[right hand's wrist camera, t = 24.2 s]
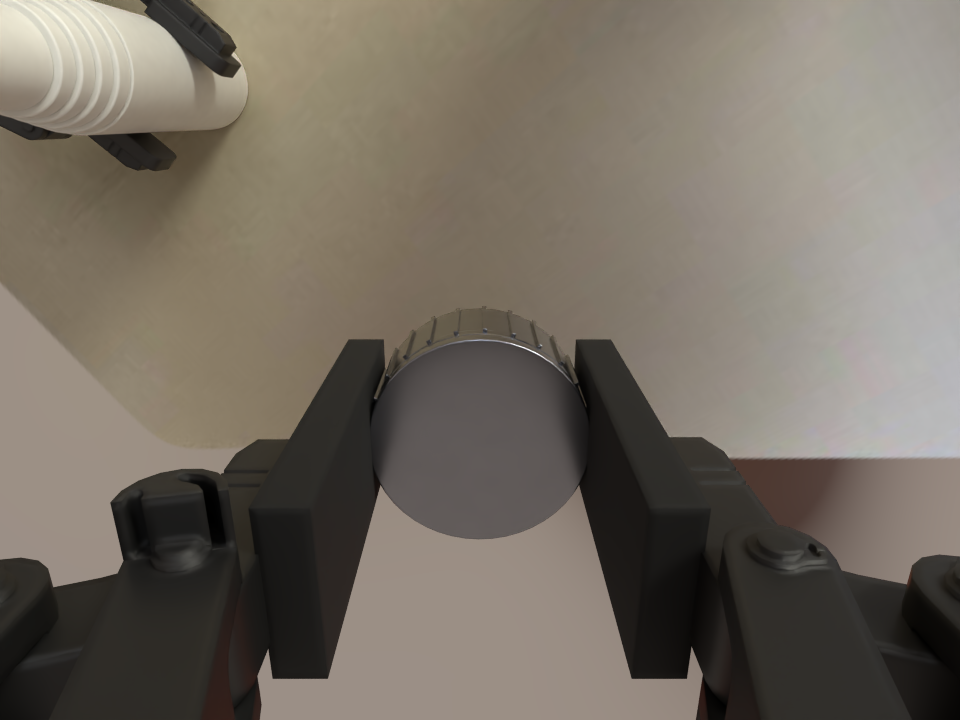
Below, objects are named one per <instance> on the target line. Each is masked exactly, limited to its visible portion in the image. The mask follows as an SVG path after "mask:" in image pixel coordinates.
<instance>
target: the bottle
mask: <svg viewBox="0 0 960 720" xmlns="http://www.w3.org/2000/svg"><path fill="white" fill-rule="evenodd" d="M232 56H233V57H234V58H235V59H236V60H237V61H238V62H239V63H240V64H241V67H240V68H239V70H238V71H237V73H236V74H235V76H234V77H233V78H228V77H222V76H220V75H218V74H216V73H215V72H213V71H212V70H211V69H210V68H208V67H207V66H206V65H205V64H204V63H203V62H201V61H200V60H199V59H198V58H197V57H196V56H195V55H193V54H192V53H191V52H190V51H189V50H188V49H186V48H185V47H184V46H183V45H182V44H181V43H180V42H178V41H177V40H176V39H175V38H174V37H173V36H172V35H170V34H169V33H168V32H167V31H166V30H165V29H164V28H163V27H162V26H160V25H159V24H158V23H157V22H155V21H154V20H153V19H152V18H149V17H145V16H142V15H139V14H135V13H132V12H129V11H125V10H122V9H119V8H115V7H112V6H109V5H105V4H102V3H99V2H95V1H92V0H0V115H2V116H6V117H10V118H13V119H16V120H18V121H22V122H25V123H29V124H31V125H34V126H37V127H41V128H44V129H47V130H50V131H53V132H58V133H67V134H72V135H104V134H126V133H148V132H171V131H193V130H213V129H219V128H223V127H225V126H227V125H229V124H231V123H232V122H234V121H235V120H236V119H237V118H238V117H239V115H240V114H241V112H242V111H243V109H244V107H245V104H246V101H247V96H248V81H247V76H246V72H245V70H244V67H243V65H242V63H241V61H240V59H239V58H238V56H237V55H236V54H235V53H234V52H233V54H232Z"/></svg>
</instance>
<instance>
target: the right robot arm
mask: <svg viewBox="0 0 960 720" xmlns="http://www.w3.org/2000/svg"><path fill="white" fill-rule="evenodd" d="M384 369H385V357H384V340H348V342H347V343H346V345H345V347H344V348H343V350H342V352H341V353H340V355H339V357H338V359H337V360H336V362H335V364H334V365H333V367H332V369H331V370H330V372H329V374H328V375H327V377H326V379H325V380H324V382H323V384H322V385H321V387H320V389H319V390H318V392H317V394H316V395H315V397H314V399H313V401H312V402H311V404H310V406H309V407H308V409H307V411H306V412H305V414H304V416H303V417H302V419H301V421H300V422H299V424H298V426H297V427H296V429H295V431H294V432H293V434H292V436H291V437H290V439H286V440H257V441H255V442H253V443H252V444H250V445H249V446H247V447H246V448H244V449H243V450H241V451H239V452H238V453H236V454H235V456H234V457H233V459H232V460H231V461H230V463H229V464H228V465H227V467H226V468H225V470H224V473H222V474H221V475H220V474H219V473H217V472H213V471H209V470H204V469H180V470H174V471H169V472H163V473H159V474H156V475H153V476H150V477H148V478H145V479H142V480H139V481H137V482H136V483H134V484H132V485H131V486H129V487H127V488H125V489H124V490H122V491H121V492H120V493H119V494H118V495H117V496H116V497H115V498H114V499H113V500H112V501H111V507H112V512H113V516H114V521H115V525H116V529H117V534H118V538H119V542H120V547H121V551H122V556H123V560H124V561H123V563H122V565H121V567H120V569H119V572H118V574H114V575H110V576H106V577H103V578H98V579H93V580H88V581H83V582H78V583H73V584H68V585H63V586H58V587H53V585H52V581H51V578H50V574H49V571H48V568H47V567H46V566H44V565H43V564H42V563H41V562H39V561H37V560H32V559H26V558H13V559H3V560H0V720H260V712H261V698H260V691H259V684H258V678H257V675H258V673H259V670H260V668H261V665H262V663H263V660H264V658H265V655H266V653H267V650H268V649H269V656H270V663H271V670H272V677H273V679H328V676H329V672H330V669H331V665H332V661H333V658H334V654H335V650H336V647H337V643H338V639H339V636H340V632H341V628H342V624H343V621H344V617H345V613H346V610H347V606H348V602H349V599H350V595H351V591H352V588H353V584H354V580H355V577H356V573H357V569H358V566H359V562H360V558H361V554H362V551H363V547H364V543H365V540H366V536H367V532H368V529H369V525H370V521H371V518H372V514H373V510H374V507H375V503H376V499H377V496H378V492H379V488H380V483H379V481H378V479H377V477H376V474H375V472H374V470H373V465H372V451H371V436H370V418H371V414H372V411H373V408H374V405H375V402H374V401H373V399H374V396H375V393H376V390H377V388H378V385H379V382H380V380H381V377H382V374H383V372H384ZM574 370H575V373H576V375H577V378H578V381H579V383H580V386H579V387H580V390H581V393H582V395H583V398H584V401H585V403H586V406H587V412H588V415H589V419H590V426H589V442H588V458H587V469H586V472H585V474H584V476H583V478H582V480H581V482H580V484H579V486H580V490H581V493H582V497H583V501H584V504H585V508H586V512H587V516H588V519H589V523H590V527H591V530H592V534H593V537H594V541H595V545H596V549H597V552H598V556H599V560H600V563H601V567H602V571H603V574H604V578H605V582H606V586H607V589H608V593H609V596H610V600H611V604H612V608H613V611H614V615H615V619H616V622H617V626H618V630H619V633H620V637H621V641H622V645H623V648H624V652H625V656H626V659H627V663H628V667H629V670H630V674H631V678H632V679H687V674H688V667H689V660H690V653H691V646H692V648H693V651H694V653H695V656H696V658H697V661H698V663H699V666H700V668H701V671H702V673H703V678H702V684H701V691H700V697H699V704H698V710H697V717H696V720H960V557H958V556H948V555H934V556H929V557H923V558H921V559H920V560H918V561H917V562H916V563H915V564H914V565H912V568H911V572H910V576H909V579H908V583H907V584H901V583H896V582H891V581H887V580H881V579H876V578H871V577H866V576H861V575H857V574H853V573H849V572H845V571H842V570H841V568H840V566H839V564H838V562H837V560H836V559H835V557H834V556H833V555H832V554H831V552H830V551H829V550H828V548H827V547H826V546H824V545H823V544H821V543H820V542H818V541H817V540H815V539H814V538H812V537H811V536H809V535H807V534H805V533H802V532H800V531H797V530H795V529H793V528H790V527H786V526H781V525H777V523H776V522H775V520H774V519H773V518H772V516H771V515H770V514H769V512H768V511H767V510H766V508H765V507H764V505H763V504H762V503H761V501H760V500H759V499H758V497H757V496H756V495H755V493H754V492H753V491H752V489H751V488H750V486H749V485H746V481H745V480H744V478H743V477H742V476H741V474H740V473H739V472H738V471H736V467H735V466H734V465H733V463H732V462H731V461H730V459H729V458H728V457H727V455H726V454H725V452H724V451H722V450H721V449H719V448H718V447H716V446H714V445H713V444H711V443H710V442H708V441H707V440H705V439H703V438H702V437H668V435H667V433H666V432H665V430H664V428H663V427H662V425H661V423H660V421H659V420H658V418H657V416H656V415H655V413H654V411H653V410H652V408H651V406H650V405H649V403H648V401H647V400H646V398H645V396H644V395H643V393H642V391H641V390H640V388H639V386H638V385H637V383H636V381H635V379H634V378H633V376H632V374H631V373H630V371H629V369H628V368H627V366H626V364H625V363H624V361H623V359H622V358H621V356H620V354H619V353H618V351H617V349H616V348H615V346H614V344H613V342H612V341H611V340H576V348H575V367H574Z"/></svg>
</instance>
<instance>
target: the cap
mask: <svg viewBox="0 0 960 720" xmlns="http://www.w3.org/2000/svg"><path fill="white" fill-rule="evenodd" d="M579 386H580V383H579V381H578V378H577V375H576V373H575V370H574V368H573V365H572V363H571V360H570V357H569V356H568V355H566V356H565V354H564V353H563V351H562V350H561V348H560V347H559V346H558V344H557V341H556V339H555V337H554V336H553V335H552V336H551V337H550V336H549V335H548V334H547V333H546V332H545V331H543V330H542V329H541V328H539V327H538V326H537V325H536V322H535V321H533V320H532V322H530V321H528V320H526V319H524V318H522V317H520V316H517V315H514V314H512V311H510V310H508V312H504V311H499V310H494V309H486V306H482V309H466V310H460V308H458V309H456V311H455V312H451V313H448V314H445V315H442V316H440V317H438V318H436V317H435V316H434V317H432V318H431V321H429V322H428V323H426V324H425V325H423V326H421V327H420V328H418V329H417V330H416V331H414V330H412V331H411V332H410V334H409V337H408V338H407V339H406V340H405V341H404V343H403V344H402V345H401V346H400V347H399V349H397V348H395V350H394V352H393V355H392V357H391V360H390V363H389V366H388V368H387V369H384V372H383V374H382V377H381V380H380V382H379V385H378V388H377V390H376V393H375V396H374V399H373V401H374V402H375V405H374V408H373V411H372V414H371V418H370V436H371V451H372V465H373V470H374V472H375V474H376V477H377V479H378V481H379V483H380V485H381V486H382V488H383V489H384V491H385V493H386V494H387V495H388V496H389V498H390V499H391V500H392V501H393V503H394V504H395V505H396V506H397V507H398V508H400V509H401V510H402V511H403V512H404V513H405V514H407V515H408V516H409V517H411V518H412V519H413V520H415V521H417V522H418V523H420V524H422V525H424V526H425V527H428V528H430V529H432V530H435V531H437V532H440V533H443V534H447V535H450V536H455V537H460V538H468V539H493V538H499V537H505V536H509V535H513V534H516V533H520V532H522V531H525V530H527V529H530V528H532V527H534V526H536V525H537V524H539V523H541V522H543V521H545V520H546V519H547V518H549V517H550V516H552V515H553V514H554V513H556V512H557V511H558V510H559V509H560V508H561V507H562V506H563V505H564V504H565V503H566V502H567V501H568V500H569V498H570V497H571V496H572V495H573V493H574V492H575V490H576V489H577V487H578V486H579V484H580V482H581V480H582V478H583V476H584V474H585V472H586V469H587V458H588V442H589V426H590V419H589V415H588V412H587V406H586V403H585V401H584V398H583V395H582V393H581V390H580V387H579Z"/></svg>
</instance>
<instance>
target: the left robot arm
mask: <svg viewBox="0 0 960 720" xmlns="http://www.w3.org/2000/svg"><path fill="white" fill-rule="evenodd" d="M141 1H142V2H143V3H144V4H145V5H146V6H147V9H146V10H145V13H146V14H147V15H148V16H150V17H151V18H152V19H153V20H154V21H155V22H157V23H158V24H159V25H160V26H162V27H163V28H164V29H165V30H166V31H167V32H168V33H169V34H170V35H172V36H173V37H174V38H175V39H176V40H177V41H178V42H180V43H181V44H182V45H183V46H184V47H185V48H186V49H188V50H189V51H190V52H191V53H192V54H193V55H195V56H196V57H197V58H198V59H199V60H200V61H201V62H203V63H204V64H205V65H206V66H207V67H208V68H210V69H211V70H212V71H213V72H215V73H216V74H218V75H220V76H222V77H228V78H233V77H234V76H235V74H236V73H237V71H238V70H239V68H240V67H241V64H240V63H239V62H238V61H237V60H236V59H235V58H234V57H233V56H232V54H233V52H234V51H235V49H236V48H237V47H236V45H235V44H234V42H233V40H232V38H231V37H230V35H229V34H228V33H226V32H225V31H224V30H223V29H222V28H221V27H220V26H218V24H216V23H215V22H214V21H213V20H212V19H211V18H210V17H209V16H207V15H206V14H205V13H204V12H203V11H202V10H201V9H200V8H198V7H197V6H196V5H195V4H194V3H193V2H192V1H191V0H141ZM0 126H1V127H3V128H5V129H7V130H9V131H12V132H14V133H16V134H18V135H20V136H22V137H24V138H26V139H28V140H44V139H65V138H69V137H71V136H72V134H67V133H58V132H53V131H50V130H47V129H44V128H41V127H37V126H34V125H31V124H29V123H25V122H22V121H18V120H16V119H13V118H10V117H6V116H2V115H0ZM88 136H89V137H90V138H91V139H93V140H94V141H95V142H96V143H98V144H99V145H100V146H101V147H103V148H104V149H105V150H106V151H108V152H109V153H110V154H111V155H113V156H114V157H116V159H118V160H119V161H120V162H121V163H123V164H124V165H125V166H127V167H129V168H132V169H135V170H145V169H150V170H152V171H159V170H165V169H169V167H170V166H171V165H172V163H173V162H174V160H175V159H176V155H175V153H174V152H173V151H171V150H170V149H169V148H168V147H167V146H165V145H164V144H163V143H162V142H161V141H159V140H158V139H157V138H156V137H154V136H153V135H152V134H151V133H150V132H148V133H126V134H104V135H88Z"/></svg>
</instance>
